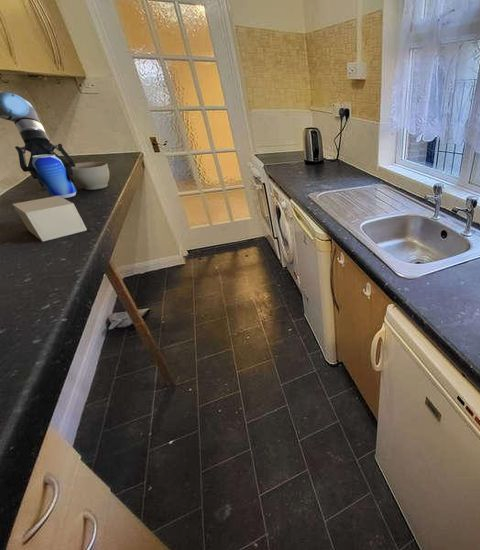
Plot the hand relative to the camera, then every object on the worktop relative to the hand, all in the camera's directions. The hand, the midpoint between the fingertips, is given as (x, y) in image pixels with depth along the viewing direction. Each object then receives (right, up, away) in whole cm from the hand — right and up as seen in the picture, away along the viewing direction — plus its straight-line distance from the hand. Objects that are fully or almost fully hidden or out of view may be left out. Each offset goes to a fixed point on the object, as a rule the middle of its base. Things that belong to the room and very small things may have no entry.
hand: (57, 182), depth 118 cm
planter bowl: (-11, +7, +30) cm, 32 cm away
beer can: (-2, -4, +5) cm, 7 cm away
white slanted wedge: (+18, -22, -16) cm, 32 cm away
